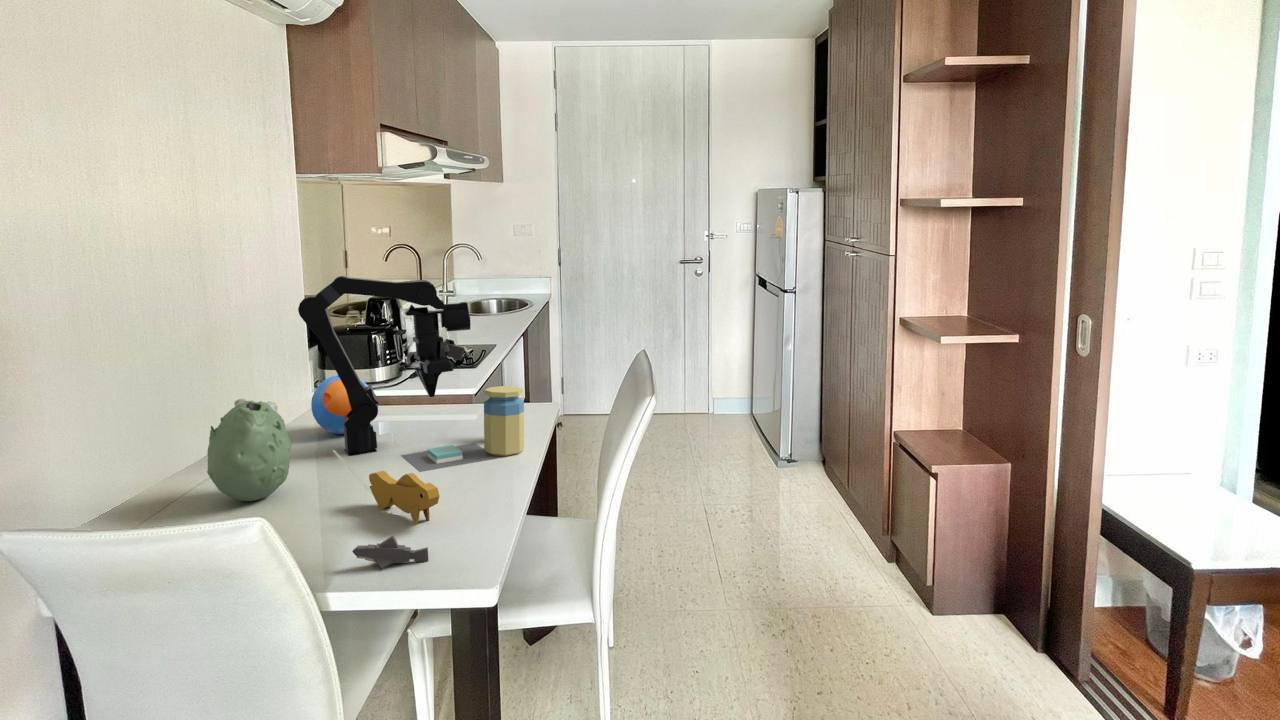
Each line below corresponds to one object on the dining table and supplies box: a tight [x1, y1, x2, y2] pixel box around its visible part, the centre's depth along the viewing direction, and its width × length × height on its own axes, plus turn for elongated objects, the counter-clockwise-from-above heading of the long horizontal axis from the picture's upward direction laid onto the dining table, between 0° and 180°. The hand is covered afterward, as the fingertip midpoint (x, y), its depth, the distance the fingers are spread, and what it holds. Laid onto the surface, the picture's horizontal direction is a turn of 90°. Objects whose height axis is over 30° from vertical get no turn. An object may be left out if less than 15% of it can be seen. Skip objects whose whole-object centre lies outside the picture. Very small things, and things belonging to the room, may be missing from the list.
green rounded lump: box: [206, 398, 292, 502], centre depth 177 cm, size 16×19×20 cm
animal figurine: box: [351, 534, 429, 570], centre depth 142 cm, size 12×4×5 cm, turn 100°
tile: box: [426, 444, 463, 464], centre depth 202 cm, size 6×2×7 cm
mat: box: [400, 442, 498, 473], centre depth 203 cm, size 18×16×1 cm
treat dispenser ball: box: [310, 374, 368, 435], centre depth 229 cm, size 16×15×15 cm
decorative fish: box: [368, 470, 440, 525], centre depth 165 cm, size 22×3×10 cm, turn 44°
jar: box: [483, 385, 525, 457], centre depth 204 cm, size 9×9×15 cm
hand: (431, 396), depth 214 cm, fingers closed
